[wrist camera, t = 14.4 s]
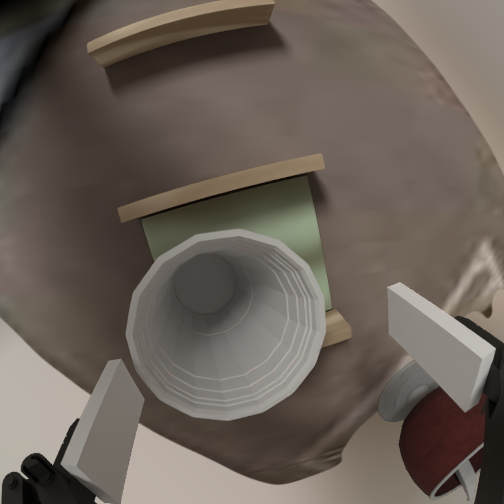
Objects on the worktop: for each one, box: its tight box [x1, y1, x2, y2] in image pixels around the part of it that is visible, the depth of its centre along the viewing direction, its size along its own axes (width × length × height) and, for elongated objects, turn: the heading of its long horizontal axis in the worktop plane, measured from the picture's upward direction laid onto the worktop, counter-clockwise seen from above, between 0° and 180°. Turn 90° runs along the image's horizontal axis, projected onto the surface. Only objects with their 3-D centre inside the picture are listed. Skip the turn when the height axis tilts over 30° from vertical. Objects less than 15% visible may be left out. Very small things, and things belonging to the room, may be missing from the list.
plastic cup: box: [125, 229, 326, 421], centre depth 20 cm, size 11×11×12 cm
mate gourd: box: [377, 360, 487, 501], centre depth 24 cm, size 16×14×20 cm
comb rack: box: [87, 0, 352, 348], centre depth 22 cm, size 32×16×4 cm, turn 14°
